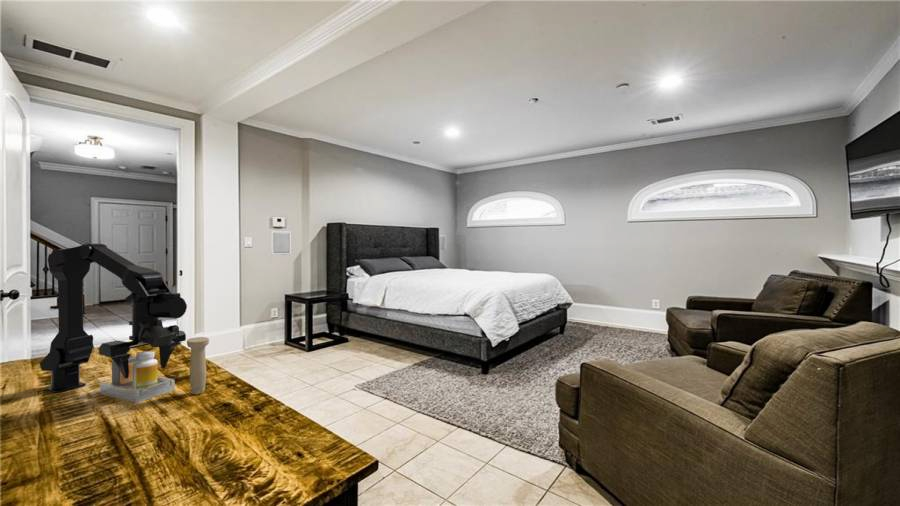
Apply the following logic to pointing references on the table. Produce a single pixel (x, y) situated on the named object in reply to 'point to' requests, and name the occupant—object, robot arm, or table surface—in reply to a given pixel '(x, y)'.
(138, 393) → the grey tray
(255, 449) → the table surface
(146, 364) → the supplement bottle
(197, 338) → the handle
